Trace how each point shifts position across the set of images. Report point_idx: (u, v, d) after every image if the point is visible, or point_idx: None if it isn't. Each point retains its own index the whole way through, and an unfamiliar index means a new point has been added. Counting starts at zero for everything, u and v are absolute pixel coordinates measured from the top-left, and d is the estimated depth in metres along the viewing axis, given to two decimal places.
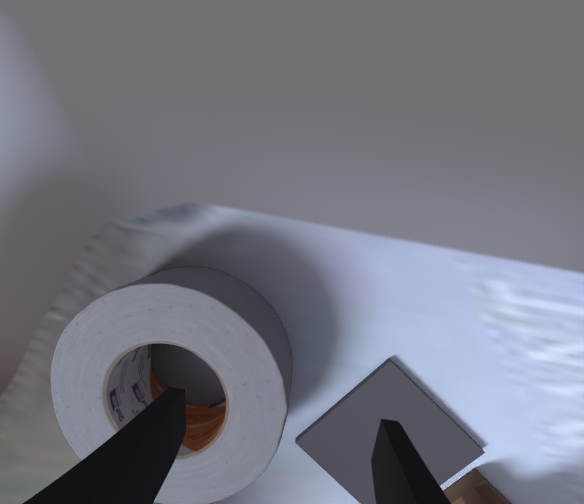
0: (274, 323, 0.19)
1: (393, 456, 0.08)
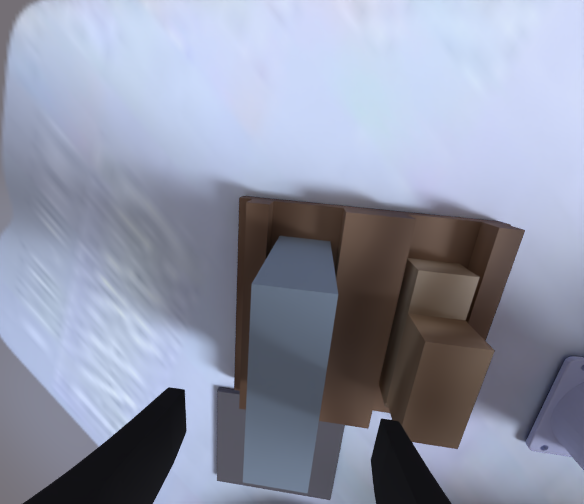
0: None
1: (393, 456, 0.08)
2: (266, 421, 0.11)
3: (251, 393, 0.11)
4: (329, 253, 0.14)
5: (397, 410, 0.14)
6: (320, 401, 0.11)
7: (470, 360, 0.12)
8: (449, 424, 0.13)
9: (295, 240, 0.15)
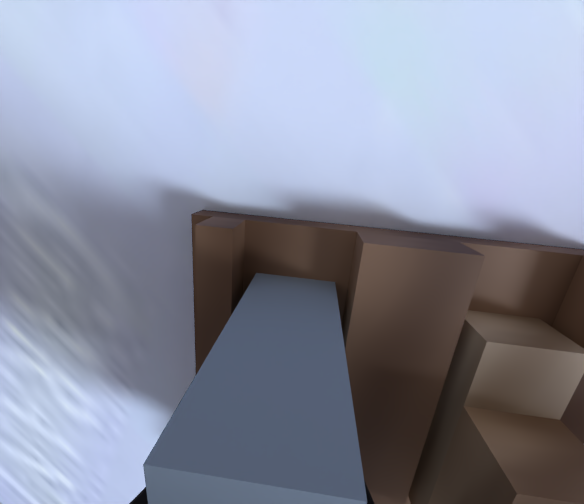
0: None
1: None
2: None
3: None
4: (335, 315, 0.08)
5: None
6: None
7: None
8: None
9: (279, 283, 0.10)
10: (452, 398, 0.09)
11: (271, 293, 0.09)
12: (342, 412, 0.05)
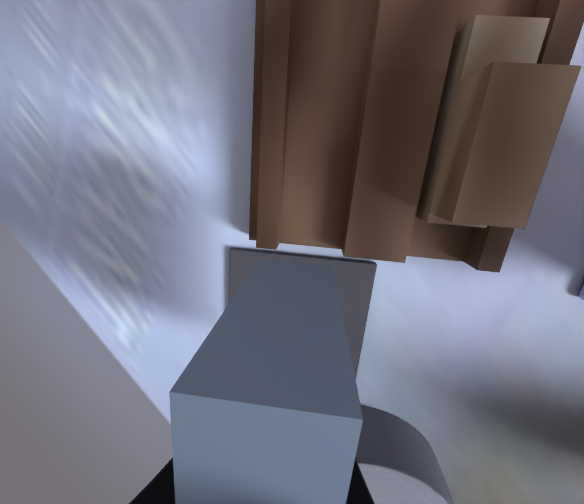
0: None
1: None
2: None
3: None
4: (334, 291, 0.08)
5: (448, 196, 0.12)
6: None
7: (549, 85, 0.10)
8: (516, 191, 0.11)
9: (281, 266, 0.10)
10: (452, 92, 0.13)
11: (274, 274, 0.09)
12: (341, 360, 0.05)
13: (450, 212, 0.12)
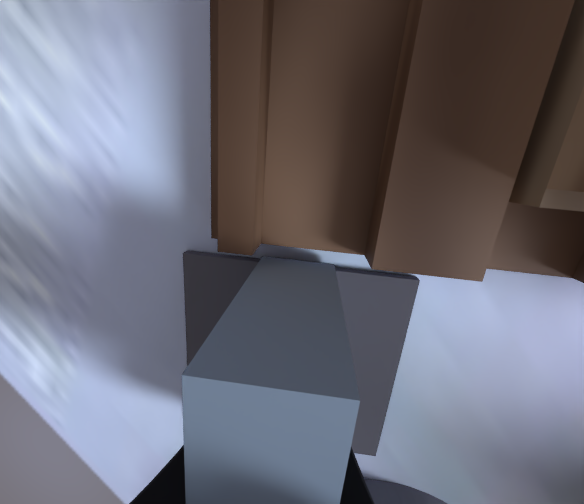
0: None
1: None
2: None
3: None
4: (334, 287, 0.09)
5: None
6: None
7: None
8: None
9: (283, 264, 0.11)
10: None
11: (277, 271, 0.10)
12: (340, 349, 0.06)
13: None
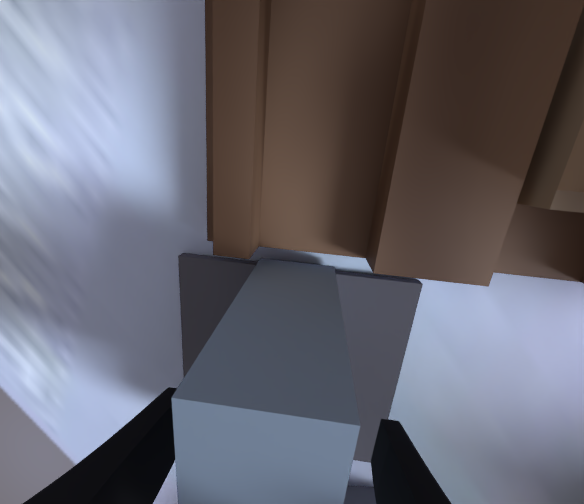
0: None
1: (393, 456, 0.08)
2: None
3: None
4: (334, 293, 0.08)
5: None
6: None
7: None
8: None
9: (282, 267, 0.10)
10: None
11: (275, 275, 0.09)
12: (340, 365, 0.05)
13: None
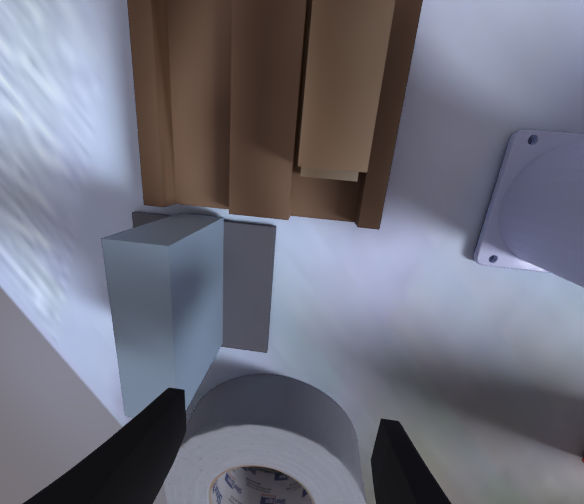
0: None
1: (393, 456, 0.08)
2: (133, 359, 0.13)
3: (117, 334, 0.13)
4: (207, 224, 0.16)
5: None
6: (173, 339, 0.13)
7: (368, 21, 0.10)
8: (353, 133, 0.11)
9: (189, 216, 0.17)
10: None
11: (181, 218, 0.17)
12: (178, 238, 0.13)
13: (299, 157, 0.12)
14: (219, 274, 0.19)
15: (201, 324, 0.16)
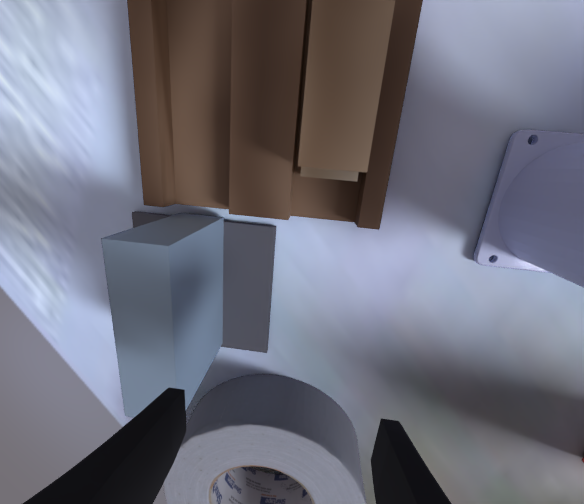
0: None
1: (393, 456, 0.08)
2: (133, 359, 0.13)
3: (117, 334, 0.13)
4: (207, 224, 0.16)
5: None
6: (173, 339, 0.13)
7: (368, 21, 0.10)
8: (353, 133, 0.11)
9: (189, 216, 0.17)
10: None
11: (181, 218, 0.17)
12: (178, 238, 0.13)
13: (299, 157, 0.12)
14: (219, 274, 0.19)
15: (201, 324, 0.16)
